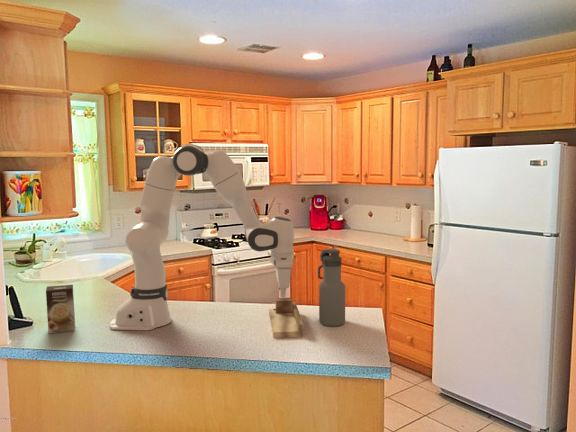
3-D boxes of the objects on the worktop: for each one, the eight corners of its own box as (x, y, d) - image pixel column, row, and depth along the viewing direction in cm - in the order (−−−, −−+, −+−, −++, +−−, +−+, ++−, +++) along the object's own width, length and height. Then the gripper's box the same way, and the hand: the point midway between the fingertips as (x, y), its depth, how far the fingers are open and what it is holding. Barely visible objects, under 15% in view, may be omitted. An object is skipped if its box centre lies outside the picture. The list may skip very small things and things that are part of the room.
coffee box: (47, 334, 179) (44, 290, 177) (49, 328, 185) (46, 286, 183) (75, 330, 182) (72, 288, 180) (76, 325, 188) (73, 283, 186)
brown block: (273, 313, 192) (273, 301, 192) (272, 310, 196) (272, 298, 196) (291, 313, 193) (291, 300, 192) (290, 309, 197) (290, 297, 196)
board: (273, 337, 173) (273, 325, 172) (269, 313, 199) (268, 303, 198) (303, 336, 174) (303, 324, 173) (295, 312, 200) (295, 302, 199)
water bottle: (313, 321, 189) (313, 248, 186) (333, 316, 195) (333, 246, 191) (329, 328, 181) (329, 253, 177) (350, 323, 186) (350, 250, 183)
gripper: (272, 253, 202) (272, 286, 204) (276, 264, 182) (275, 301, 184) (287, 253, 203) (287, 286, 205) (293, 264, 183) (292, 300, 184)
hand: (281, 293), depth 194 cm, fingers open, 8 cm apart
